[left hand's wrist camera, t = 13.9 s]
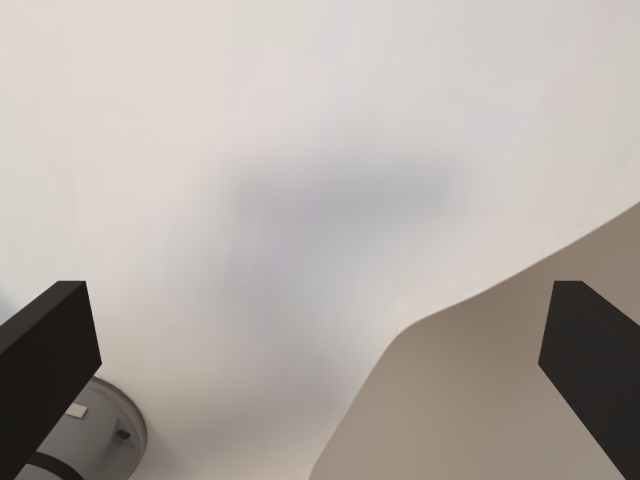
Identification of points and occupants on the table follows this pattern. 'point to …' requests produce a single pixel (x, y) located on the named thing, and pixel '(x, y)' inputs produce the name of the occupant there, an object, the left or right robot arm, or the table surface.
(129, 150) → the table surface
